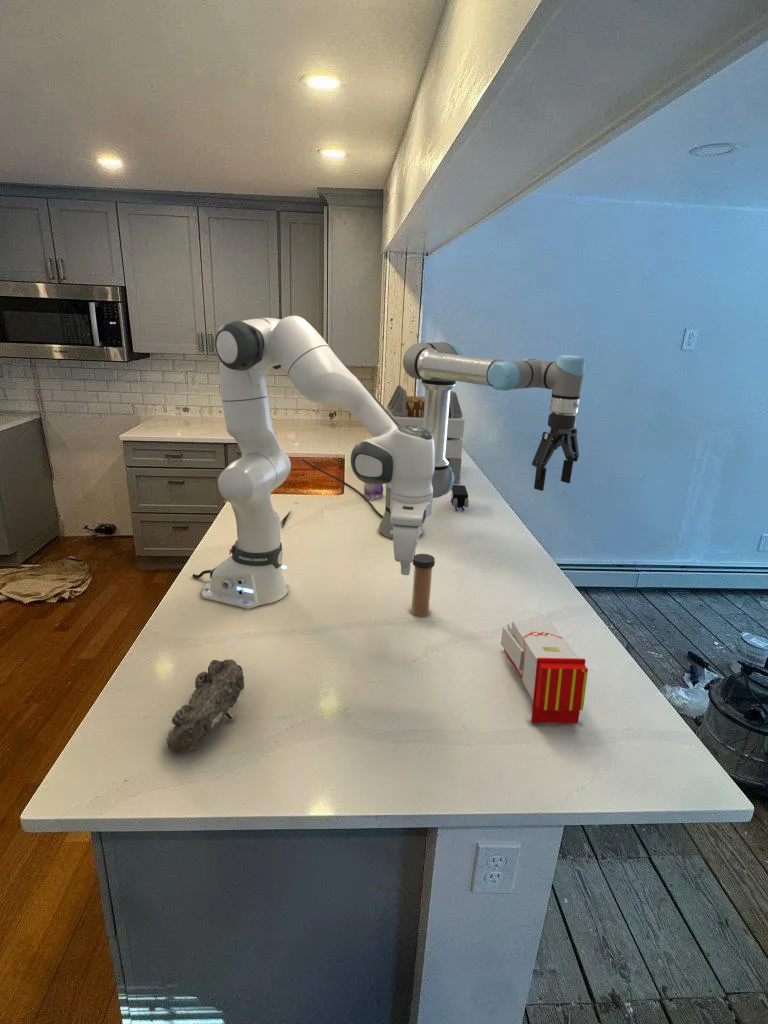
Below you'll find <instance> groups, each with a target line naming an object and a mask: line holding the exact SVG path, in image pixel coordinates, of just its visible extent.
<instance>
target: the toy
mask: <svg viewBox="0 0 768 1024" xmlns="http://www.w3.org/2000/svg"><path fill="white" fill-rule="evenodd" d="M500 645H501V646H502V648H503V652H504V654H505V655H506V657H507V658H508V660H509V661H510V663H511V664H512V666H513V668H514V669H515V671H516V672H517V674H518V676H519V677H520V679H521V680H522V683H523V685H524V686H525V688H526V690H527V692H528V694H529V696H530V697H531V699H532V708H531V719H530V722H531V723H532V724H579V719H580V712H583V711H584V706H585V697H586V689H587V680H588V671H589V669H588V667H587V666H586V659H585V658H580V657H579V656H578V655H577V654H576V652H575V651H574V650H573V648H572V647H571V646H570V645H569V644H568V642H567V641H566V640H565V638H564V637H563V636H562V634H561V633H560V632H559V631H558V630H557V628H556V627H555V626H554V624H553V623H552V622H551V621H549V620H548V621H545V620H540V621H539V620H511V622H508V623H507V626H502V632H501V638H500Z"/></svg>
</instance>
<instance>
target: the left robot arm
mask: <svg viewBox="0 0 768 1024" xmlns="http://www.w3.org/2000/svg"><path fill="white" fill-rule="evenodd" d="M214 347H215V348H214V349H215V353H216V355H217V357H218V360H219V361H220V363H219V388H220V389H219V390H220V396H221V397H220V398H221V404H222V409H223V416H224V421H225V429H226V432H227V433H228V435H229V436H230V437H232V438H233V439H234V440H235V442H236V443H237V445H238V448H239V450H240V453H241V457H240V458H237V459H236V460H234V461H232V462H230V463H229V464H228V465H227V466H226V467H225V468H224V469H223V470H222V471H221V472H220V474H219V477H218V480H217V486H218V490H219V491H218V492H219V493H220V495H221V496H222V498H223V499H224V500H225V501H226V502H228V503H230V506H231V508H232V510H233V513H234V518H235V523H236V524H235V525H236V537H237V539H236V540H235V543H234V544H233V545H231V548H229V550H228V552H229V553H228V555H229V556H230V557H228V558H227V559H225V560H223V561H222V562H221V563H219V565H217V566H215V567H214V568H213V569H205V570H202V571H201V572H200V573H199V574H196V573H193V574H192V575H191V576H192V578H194V579H200V578H202V577H203V576H205V575H207V574H209V579H210V580H209V581H208V582H207V583H206V584H205V585H204V587H203V589H202V593H201V594H202V598H203V599H207V600H210V601H213V602H214V601H215V602H218V603H222V604H227V605H231V606H235V607H239V608H242V609H246V610H247V609H249V610H250V609H254V608H257V607H259V606H262V605H263V606H264V605H268V604H272V603H275V602H278V601H280V600H282V599H283V598H285V596H286V595H287V593H288V587H287V584H286V582H285V578H284V577H285V576H284V573H283V569H287V566H286V565H282V564H283V558H284V557H283V556H284V553H283V543H282V542H281V523H280V522H281V518H280V515H279V514H278V513H277V512H276V511H275V510H274V507H273V504H272V499H271V495H272V493H273V491H274V490H276V489H277V488H278V487H280V486H282V485H283V483H285V481H286V480H287V478H288V477H289V475H290V473H291V469H292V462H291V460H290V457H289V455H288V454H287V453H286V452H285V451H284V450H283V449H282V448H281V445H280V443H279V441H278V438H277V435H276V432H275V430H274V426H273V419H272V413H271V407H270V402H269V401H270V400H269V393H268V387H267V381H266V377H267V373H268V371H270V369H271V368H272V369H275V370H278V369H281V368H282V370H283V371H284V372H285V374H286V376H287V377H288V378H289V380H290V381H291V383H292V384H293V386H294V387H295V388H296V390H297V391H298V392H299V393H300V394H301V395H302V396H304V398H306V399H307V400H308V401H310V402H313V403H316V404H321V405H322V404H324V405H329V406H333V407H337V408H340V409H343V410H345V411H347V412H349V413H350V414H351V415H353V416H354V417H355V418H356V419H357V420H358V421H359V422H360V423H361V425H362V426H363V427H364V428H365V429H366V430H367V432H368V433H369V434H370V435H371V436H372V437H369V438H367V439H364V440H362V441H360V442H357V444H355V445H354V447H353V448H352V450H351V454H350V466H351V470H352V472H353V474H354V475H355V477H356V478H357V479H358V480H359V481H361V482H362V483H364V484H365V483H367V484H382V485H386V484H389V485H390V486H391V497H390V512H391V516H390V523H391V524H393V539H392V545H393V546H392V547H393V556H394V560H395V562H397V563H399V564H400V574H401V575H402V576H409V575H410V573H411V563H413V558H414V556H415V555H416V550H417V547H418V544H419V543H418V542H419V541H420V537H421V536H420V533H421V530H422V531H423V524H424V523H425V522H426V520H427V518H428V517H430V516H431V515H432V513H433V502H434V501H433V500H434V498H433V486H432V478H433V475H434V470H435V445H434V439H433V436H432V434H431V433H430V432H429V431H428V430H426V429H424V428H422V427H419V426H413V425H400V424H398V423H397V422H396V421H395V420H394V418H393V417H392V416H391V415H390V414H389V413H388V411H387V408H386V407H385V406H383V404H382V403H381V402H380V401H379V399H378V398H377V397H376V396H375V394H373V392H372V391H371V390H370V389H369V388H368V387H367V386H366V385H365V383H363V382H362V381H361V380H359V378H358V377H357V376H355V374H353V373H352V372H351V371H350V370H349V369H348V368H347V366H345V364H343V362H342V361H341V360H340V359H339V358H338V356H337V355H336V353H335V352H334V351H333V350H332V348H331V347H330V346H329V344H328V343H327V342H326V341H325V339H324V338H323V337H322V335H321V334H320V333H319V332H318V331H317V329H315V328H314V326H312V325H311V324H310V322H308V321H307V320H306V319H304V318H303V317H301V316H299V315H288V316H285V317H276V318H275V317H255V318H249V319H244V320H233V321H229V322H227V323H224V324H223V325H221V326H220V327H219V328H218V329H217V331H216V334H215V338H214Z"/></svg>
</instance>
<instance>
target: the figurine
mask: <svg viewBox="0 0 768 1024" xmlns="http://www.w3.org/2000/svg"><path fill="white" fill-rule="evenodd" d="M383 485H384V484H367V483H364V485H363V491H364V492H363V494H362V495H363V496H364V497H365V498H366V499H367V500H368V501H370V500H371V501H373V500H379V499H381V498H382V497H383V493H384V486H383Z"/></svg>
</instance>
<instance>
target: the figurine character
mask: <svg viewBox="0 0 768 1024" xmlns="http://www.w3.org/2000/svg"><path fill="white" fill-rule="evenodd" d="M449 502H450V504H451V506H452V507H453V508H454V511H456V512H457V511H458V509H461V511H462V512H464V511H465V508H469V505H470V500H469V492H468V490H467V488H466V485H464V484H463V485H461V484H453V487H452V489H451V494H450V501H449Z"/></svg>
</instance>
